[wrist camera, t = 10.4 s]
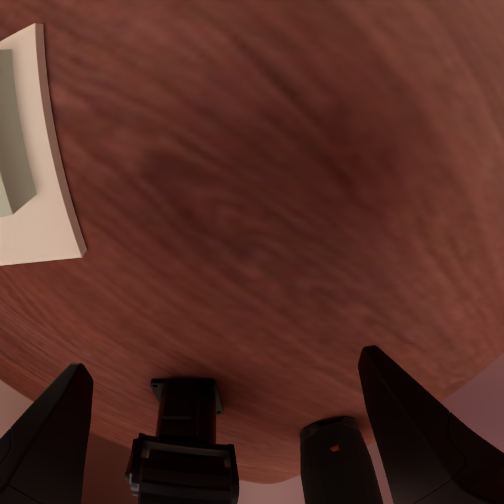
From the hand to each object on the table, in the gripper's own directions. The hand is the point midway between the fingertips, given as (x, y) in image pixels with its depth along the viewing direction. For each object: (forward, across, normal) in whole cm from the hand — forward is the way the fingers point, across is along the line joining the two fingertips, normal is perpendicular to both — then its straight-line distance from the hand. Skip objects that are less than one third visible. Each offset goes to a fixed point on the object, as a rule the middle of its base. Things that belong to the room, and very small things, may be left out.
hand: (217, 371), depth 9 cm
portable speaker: (+12, -10, +32) cm, 36 cm away
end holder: (+12, +17, -6) cm, 22 cm away
